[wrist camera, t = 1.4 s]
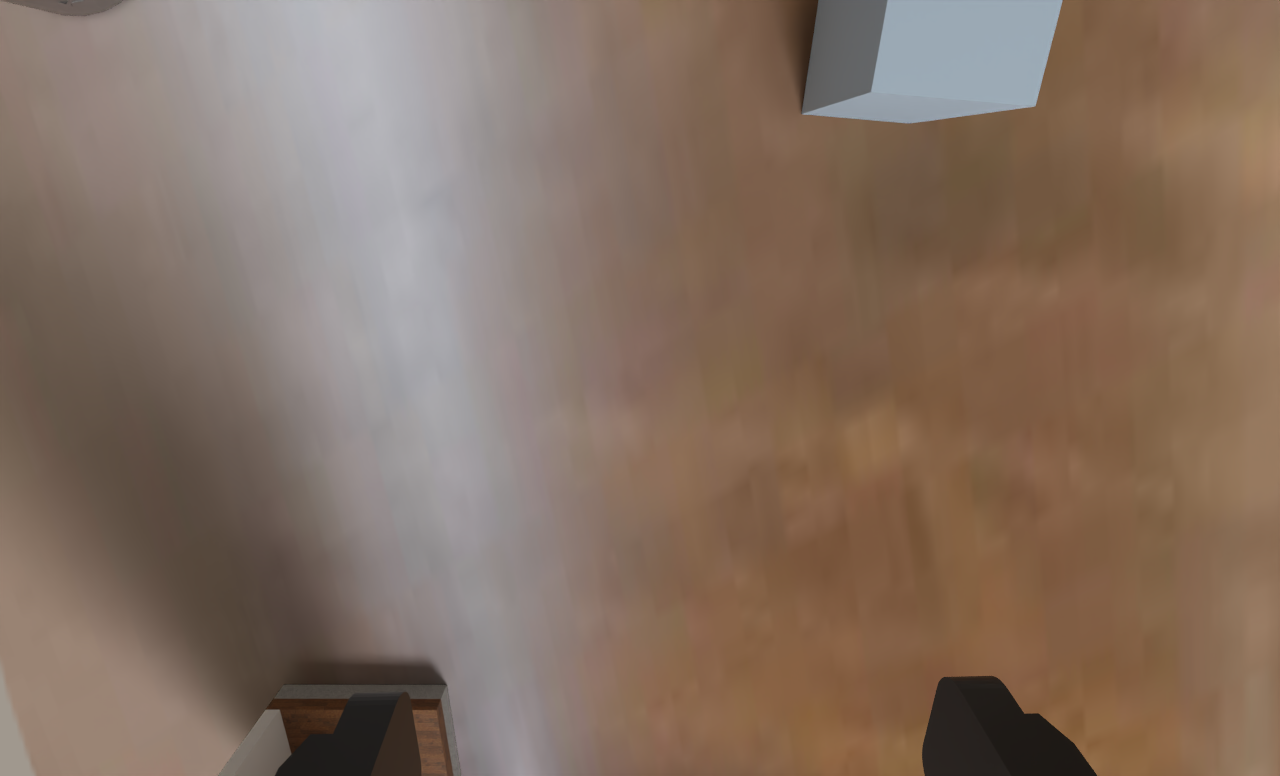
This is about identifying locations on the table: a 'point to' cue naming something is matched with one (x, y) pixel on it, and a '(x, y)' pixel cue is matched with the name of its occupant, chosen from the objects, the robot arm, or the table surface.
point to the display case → (319, 714)
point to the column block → (927, 57)
